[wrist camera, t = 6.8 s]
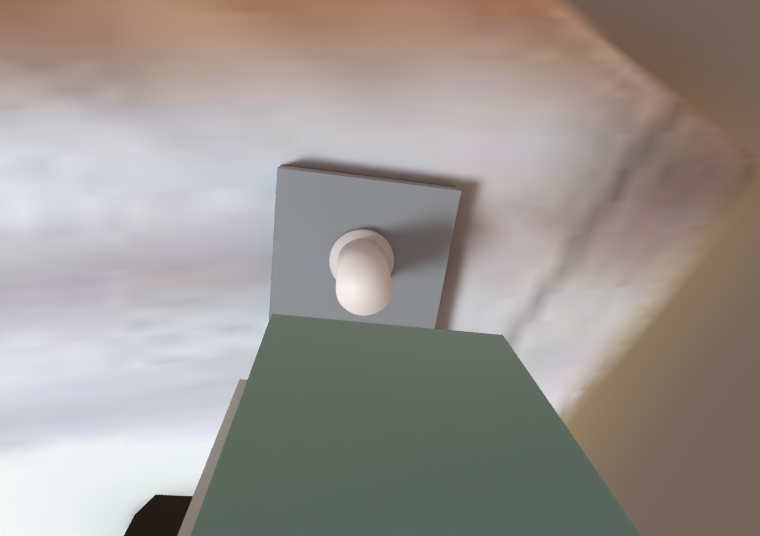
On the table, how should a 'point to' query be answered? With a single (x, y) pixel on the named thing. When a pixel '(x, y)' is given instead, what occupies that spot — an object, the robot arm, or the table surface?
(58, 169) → the table surface
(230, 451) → the teal cube with ledge
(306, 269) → the post board
